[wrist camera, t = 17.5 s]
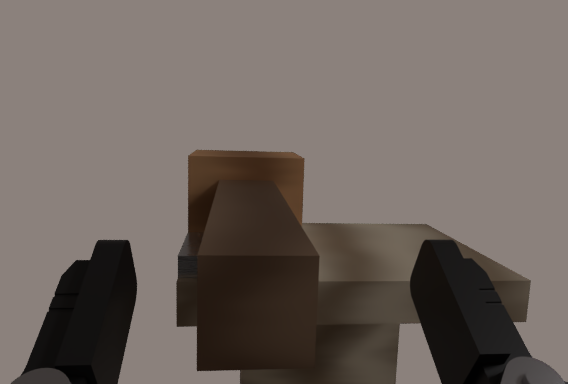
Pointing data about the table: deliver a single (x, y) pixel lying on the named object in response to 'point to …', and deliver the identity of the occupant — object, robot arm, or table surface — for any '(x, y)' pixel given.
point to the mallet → (252, 261)
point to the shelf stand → (364, 301)
